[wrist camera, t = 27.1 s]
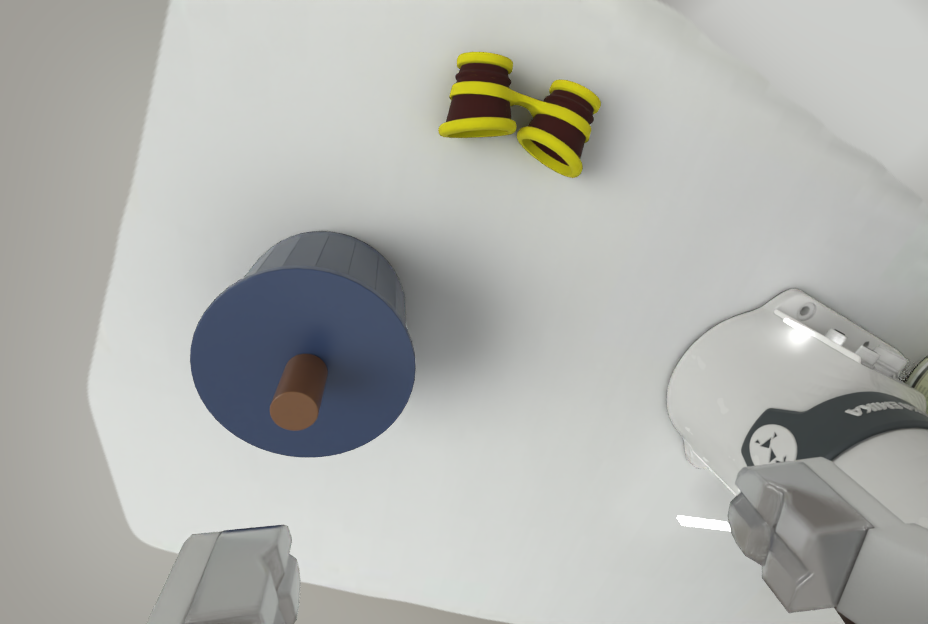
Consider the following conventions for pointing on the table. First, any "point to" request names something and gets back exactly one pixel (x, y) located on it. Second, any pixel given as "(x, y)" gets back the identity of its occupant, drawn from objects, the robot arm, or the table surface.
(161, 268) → the table surface
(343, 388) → the tin lid
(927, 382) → the coffee can
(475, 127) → the opera glasses
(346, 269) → the tin
